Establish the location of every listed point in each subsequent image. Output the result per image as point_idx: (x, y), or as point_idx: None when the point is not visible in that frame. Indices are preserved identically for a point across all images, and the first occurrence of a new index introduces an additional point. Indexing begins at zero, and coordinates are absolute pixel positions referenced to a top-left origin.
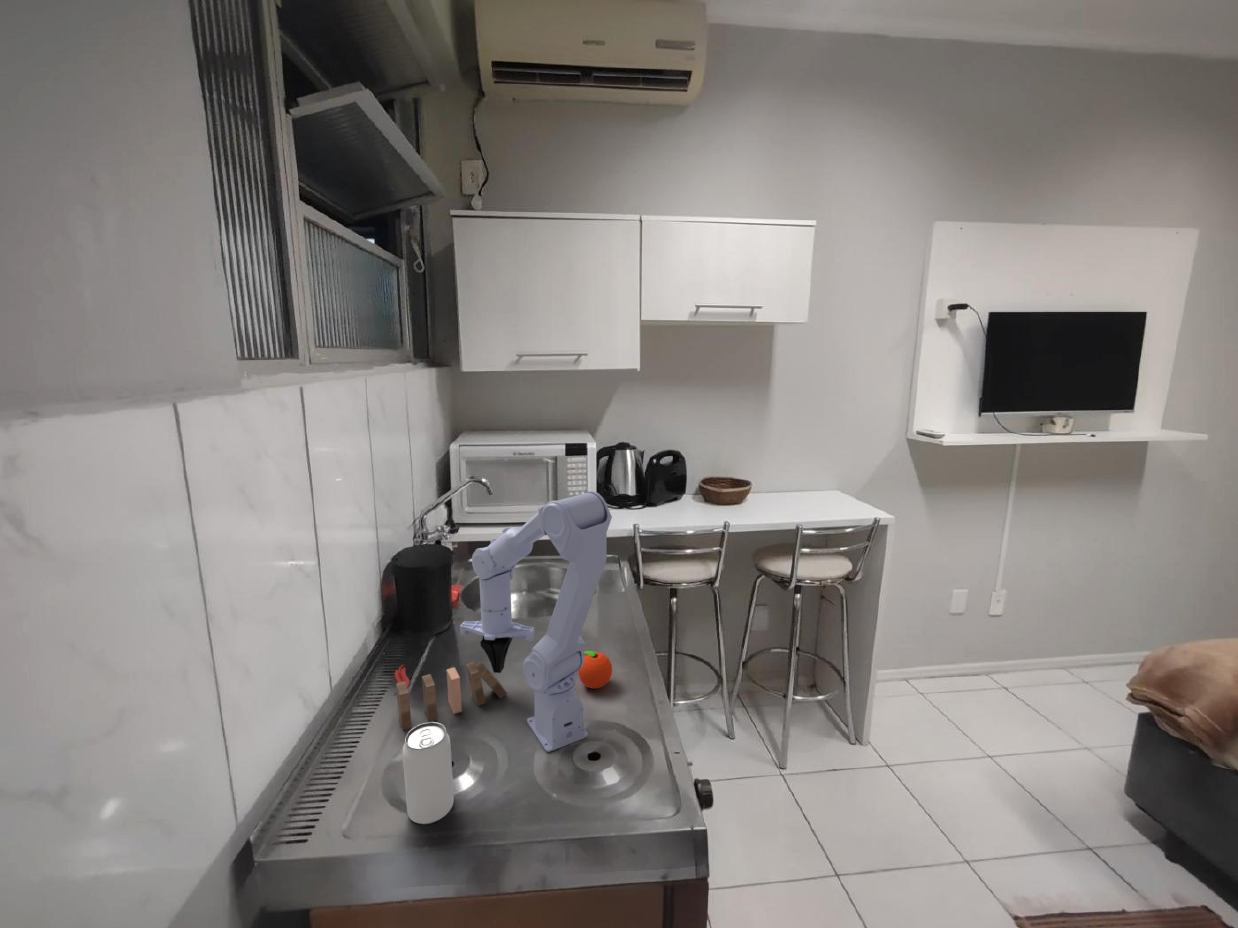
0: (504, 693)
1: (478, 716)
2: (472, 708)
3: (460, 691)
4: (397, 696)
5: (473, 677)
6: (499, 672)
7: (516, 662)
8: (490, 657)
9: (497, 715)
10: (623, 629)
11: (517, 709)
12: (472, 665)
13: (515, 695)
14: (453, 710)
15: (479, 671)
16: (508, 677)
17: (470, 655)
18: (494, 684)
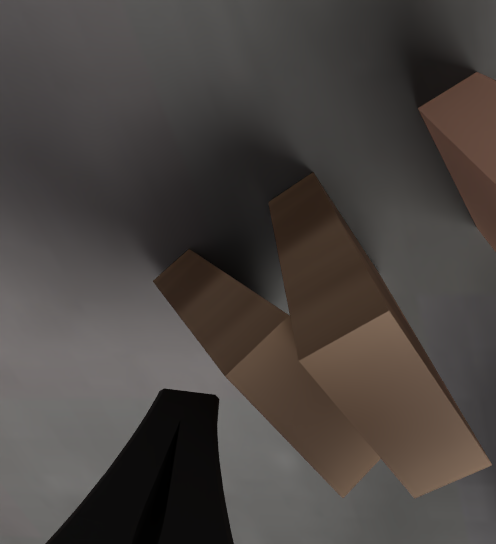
0: (164, 275)
1: (275, 55)
2: (345, 146)
3: (475, 161)
4: None
5: (360, 291)
6: (163, 391)
7: None
8: (202, 539)
9: (141, 78)
10: None
11: (39, 153)
12: (411, 447)
13: (116, 279)
14: (488, 77)
15: None
16: None
17: (450, 531)
18: (198, 298)
